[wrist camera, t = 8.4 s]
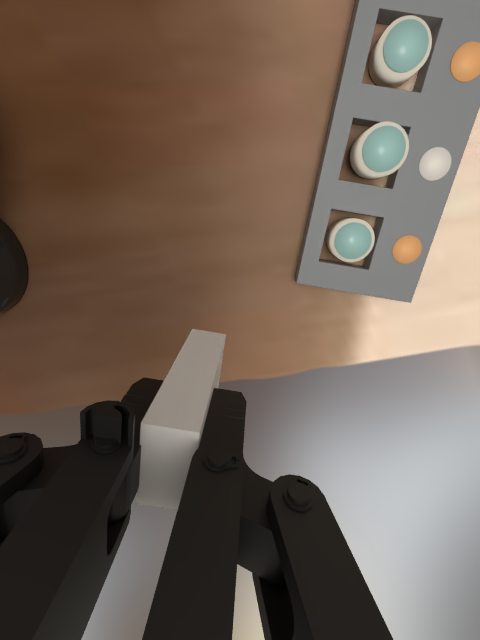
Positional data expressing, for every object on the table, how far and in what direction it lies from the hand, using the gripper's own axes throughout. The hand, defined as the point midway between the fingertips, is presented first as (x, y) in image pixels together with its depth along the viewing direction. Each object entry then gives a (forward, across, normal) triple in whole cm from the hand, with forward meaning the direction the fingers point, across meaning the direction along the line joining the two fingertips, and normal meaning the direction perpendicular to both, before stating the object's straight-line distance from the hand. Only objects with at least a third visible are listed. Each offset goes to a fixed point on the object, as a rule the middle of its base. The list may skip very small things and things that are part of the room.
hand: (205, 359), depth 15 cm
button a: (+28, +12, +4) cm, 31 cm away
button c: (+28, +12, +22) cm, 38 cm away
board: (+29, +14, +13) cm, 35 cm away
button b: (+26, +12, +14) cm, 32 cm away
